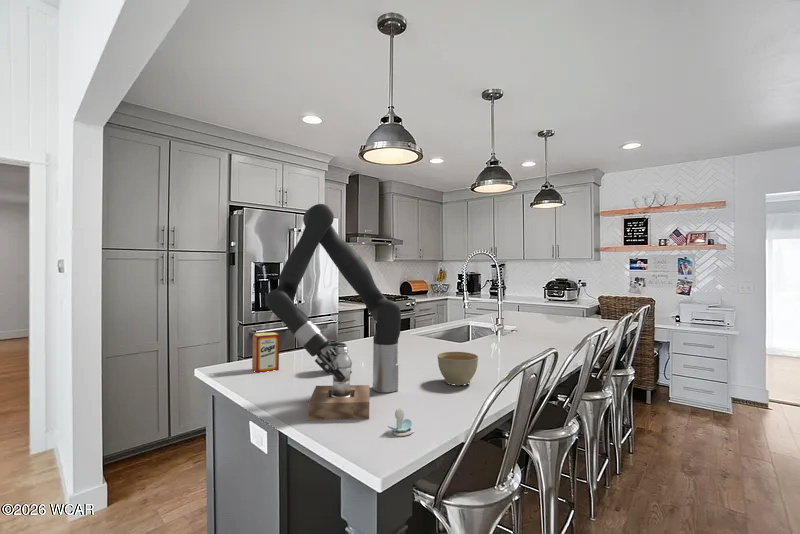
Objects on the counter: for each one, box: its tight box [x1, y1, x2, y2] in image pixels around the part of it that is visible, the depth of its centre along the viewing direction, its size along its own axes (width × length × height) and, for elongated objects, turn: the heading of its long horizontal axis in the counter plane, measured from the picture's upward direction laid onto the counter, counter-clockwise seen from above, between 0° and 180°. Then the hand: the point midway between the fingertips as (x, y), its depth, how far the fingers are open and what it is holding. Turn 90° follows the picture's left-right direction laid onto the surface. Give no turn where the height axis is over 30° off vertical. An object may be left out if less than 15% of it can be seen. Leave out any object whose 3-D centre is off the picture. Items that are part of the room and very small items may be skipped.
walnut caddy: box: [307, 384, 370, 421], centre depth 125 cm, size 18×17×5 cm
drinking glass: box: [322, 341, 347, 375], centre depth 169 cm, size 10×10×12 cm
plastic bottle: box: [331, 345, 353, 397], centre depth 125 cm, size 6×7×20 cm
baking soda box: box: [251, 332, 280, 374], centre depth 171 cm, size 10×6×16 cm
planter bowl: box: [437, 351, 479, 386], centre depth 155 cm, size 16×16×11 cm
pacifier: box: [387, 408, 415, 437], centre depth 108 cm, size 7×6×6 cm
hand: (346, 377), depth 125 cm, fingers closed on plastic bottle, 6 cm apart
